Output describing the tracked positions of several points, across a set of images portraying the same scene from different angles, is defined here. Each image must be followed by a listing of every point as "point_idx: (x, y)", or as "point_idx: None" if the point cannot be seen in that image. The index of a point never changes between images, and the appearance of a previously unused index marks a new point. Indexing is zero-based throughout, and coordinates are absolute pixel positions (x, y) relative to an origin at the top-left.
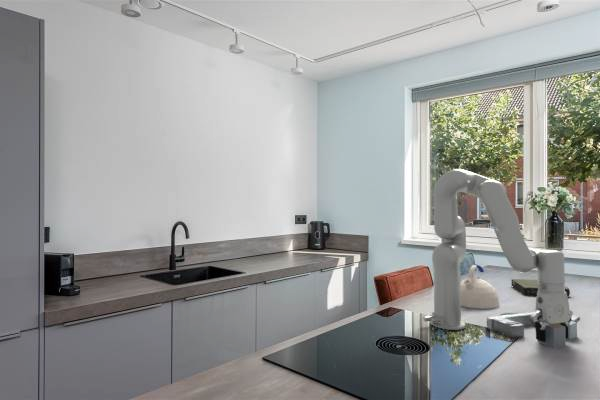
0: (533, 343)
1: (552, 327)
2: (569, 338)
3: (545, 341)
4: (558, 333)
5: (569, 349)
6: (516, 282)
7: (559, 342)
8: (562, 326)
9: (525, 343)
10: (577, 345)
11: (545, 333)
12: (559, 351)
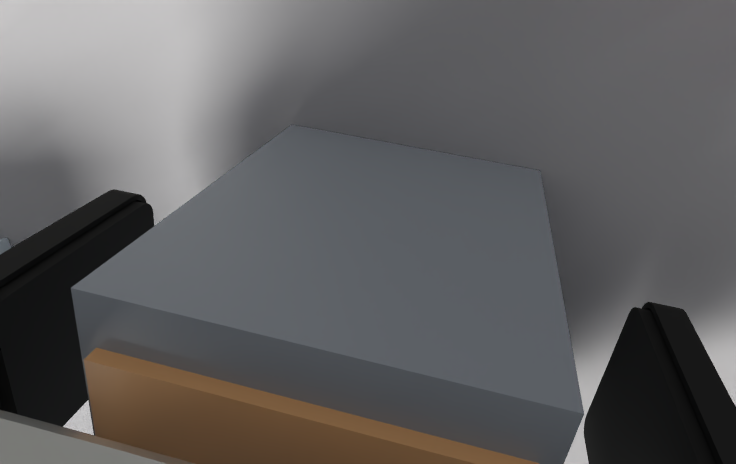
0: None
1: (542, 458)
2: (4, 249)
3: (656, 304)
4: (400, 261)
5: (371, 9)
6: None
7: (406, 174)
8: (150, 337)
9: None
10: (95, 61)
11: (708, 418)
12: (641, 30)
